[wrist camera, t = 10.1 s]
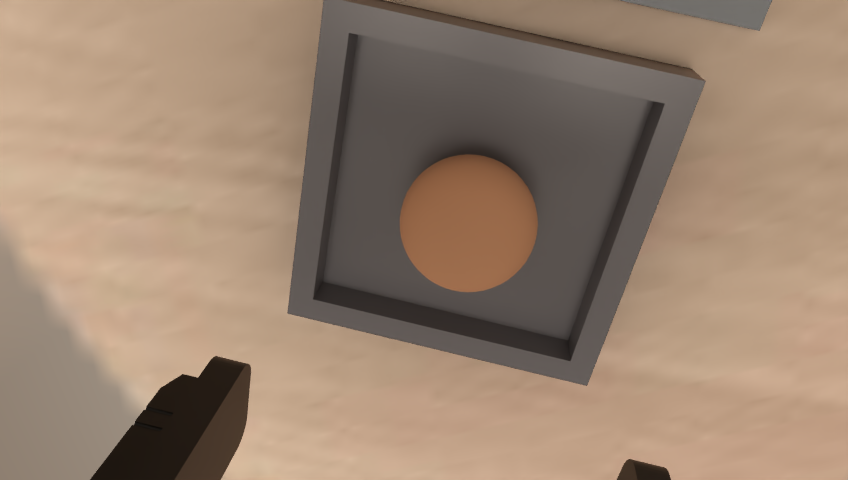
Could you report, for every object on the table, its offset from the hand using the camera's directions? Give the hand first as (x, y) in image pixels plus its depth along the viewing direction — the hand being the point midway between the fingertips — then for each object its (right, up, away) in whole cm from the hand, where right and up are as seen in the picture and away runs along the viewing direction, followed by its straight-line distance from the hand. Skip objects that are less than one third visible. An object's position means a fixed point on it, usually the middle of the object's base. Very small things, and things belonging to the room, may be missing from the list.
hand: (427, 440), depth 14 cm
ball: (+2, +5, +10) cm, 11 cm away
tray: (+2, +6, +13) cm, 14 cm away
